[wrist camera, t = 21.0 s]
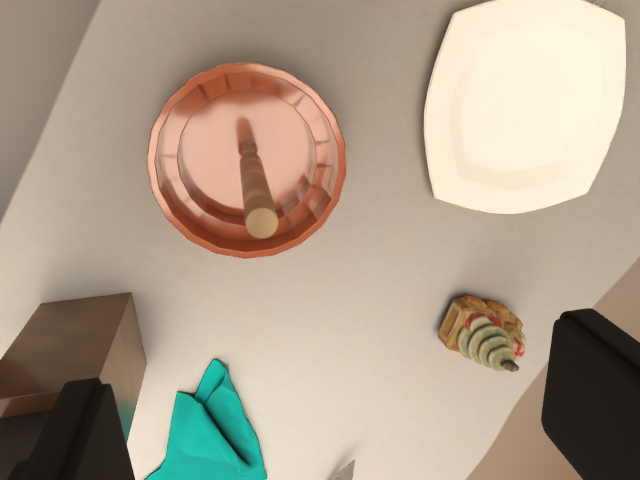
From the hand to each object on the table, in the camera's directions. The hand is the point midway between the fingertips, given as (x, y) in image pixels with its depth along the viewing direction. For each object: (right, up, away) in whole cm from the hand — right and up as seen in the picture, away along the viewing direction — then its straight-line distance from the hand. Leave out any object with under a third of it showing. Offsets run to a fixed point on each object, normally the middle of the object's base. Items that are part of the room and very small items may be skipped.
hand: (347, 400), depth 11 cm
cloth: (-13, -21, +46) cm, 52 cm away
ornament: (+16, -5, +45) cm, 48 cm away
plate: (+18, +16, +37) cm, 44 cm away
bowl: (-7, +11, +34) cm, 36 cm away
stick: (-7, +11, +33) cm, 36 cm away
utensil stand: (-22, -6, +38) cm, 44 cm away
